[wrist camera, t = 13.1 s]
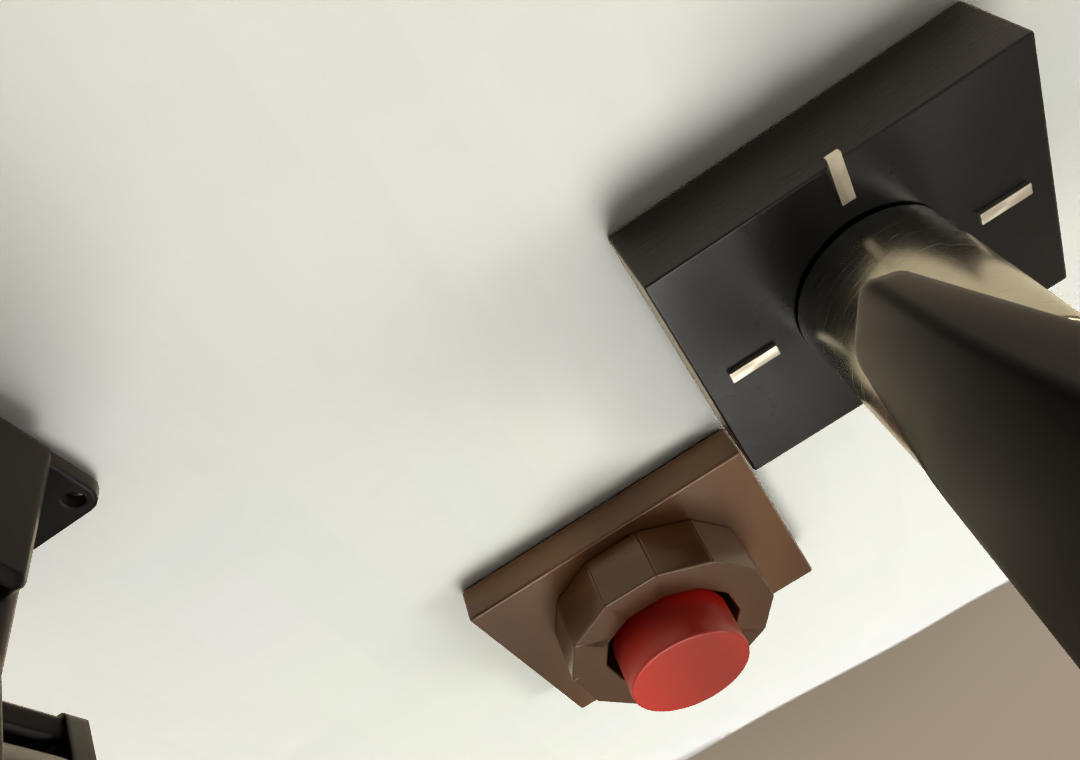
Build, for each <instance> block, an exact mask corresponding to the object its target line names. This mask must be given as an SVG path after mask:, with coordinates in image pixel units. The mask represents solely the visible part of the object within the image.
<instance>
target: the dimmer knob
mask: <svg viewBox="0 0 1080 760" xmlns="http://www.w3.org/2000/svg"><path fill="white" fill-rule="evenodd" d="M895 271H909V272H912V273H916V274H919V275H923V276H926V277H929V278H933V279H936V280H940V281H943V282H946V283H950V284H953V285H957V286H960V287H963V288H967V289H970V290H974V291H977V292H980V293H984V294H987V295H991V296H994V297H997V298H1001V299H1004V300H1008V301H1011V302H1014V303H1018V304H1021V305H1024V306H1028V307H1031V308H1035V309H1038V310H1041V311H1045V312H1048V313H1052V314H1055V315H1058V316H1062V317H1065V318H1069V319H1072V320H1075V321H1079V322H1080V313H1079V312H1078V311H1077V310H1075V309H1074V308H1072V307H1071V306H1070V305H1068V304H1067V303H1065V302H1064V301H1063V300H1061V299H1060V298H1058V297H1057V296H1056V295H1054V294H1053V293H1051V292H1050V291H1049V290H1047V289H1046V288H1044V287H1043V286H1042V285H1040V284H1039V283H1037V282H1036V281H1035V280H1033V279H1032V278H1031V277H1029V276H1028V275H1026V274H1025V273H1024V272H1022V271H1021V270H1019V269H1018V268H1017V267H1015V266H1014V265H1012V264H1011V263H1010V262H1008V261H1007V260H1005V259H1004V258H1003V257H1001V256H1000V255H998V254H997V253H996V252H994V251H993V250H991V249H990V248H989V247H987V246H986V245H984V244H983V243H982V242H980V241H979V240H978V239H976V238H975V237H973V236H972V235H971V234H969V233H968V232H966V231H965V230H964V229H962V228H961V227H959V226H958V225H957V224H955V223H954V222H952V221H951V220H950V219H948V218H947V217H945V216H944V215H943V214H941V213H940V212H938V211H936V210H935V209H932V208H929V207H926V206H920V205H900V206H894V207H890V208H886V209H883V210H880V211H877V212H875V213H873V214H871V215H869V216H867V217H865V218H863V219H861V220H859V221H858V222H856V223H855V224H853V225H852V226H850V227H849V228H848V229H846V230H845V231H844V232H842V233H841V234H840V235H839V236H838V237H837V238H836V239H835V240H833V241H832V242H831V244H830V245H829V246H828V247H827V248H826V249H825V250H824V251H823V253H822V254H821V255H820V256H819V258H818V259H817V260H816V262H815V263H814V265H813V267H812V268H811V270H810V272H809V274H808V276H807V278H806V280H805V282H804V285H803V287H802V290H801V294H800V298H799V304H798V321H799V325H800V329H801V332H802V334H803V336H804V338H805V339H806V341H807V342H808V343H809V345H810V346H811V347H812V348H813V349H814V350H815V351H816V352H817V353H818V354H819V355H820V357H821V358H822V359H823V360H824V361H825V362H826V363H827V364H828V365H829V366H830V367H831V369H832V370H833V371H834V372H835V373H836V374H837V375H838V376H839V377H840V378H841V379H842V381H843V382H844V383H845V384H846V385H847V386H848V387H849V388H850V389H851V390H852V391H853V393H854V394H855V395H856V396H857V397H858V398H859V399H860V400H861V401H862V402H863V403H864V405H865V406H866V407H867V408H868V409H869V410H870V411H871V412H872V413H873V414H874V415H875V417H876V418H877V419H878V420H879V421H880V422H881V423H882V424H883V425H884V426H885V427H886V429H887V430H888V431H889V432H890V433H891V434H892V435H893V436H894V437H895V438H896V439H897V441H898V442H899V443H900V444H901V445H902V446H903V447H904V448H905V449H906V450H907V451H908V453H909V454H910V455H911V456H912V457H913V458H914V459H915V460H916V461H917V462H918V463H919V465H920V466H921V464H920V462H919V461H918V459H917V458H916V456H915V454H914V453H913V451H912V450H911V448H910V446H909V445H908V443H907V442H906V440H905V438H904V437H903V435H902V434H901V432H900V430H899V429H898V427H897V426H896V424H895V422H894V421H893V419H892V418H891V416H890V414H889V413H888V411H887V409H886V408H885V406H884V405H883V403H882V401H881V400H880V398H879V397H878V395H877V393H876V392H875V390H874V389H873V387H872V385H871V384H870V382H869V381H868V379H867V377H866V376H865V374H864V373H863V371H862V369H861V367H860V365H859V363H858V361H857V357H856V354H855V332H856V320H857V308H858V297H859V291H860V289H861V287H862V285H863V284H864V283H865V282H867V281H868V280H871V279H874V278H877V277H880V276H883V275H886V274H889V273H892V272H895ZM921 467H922V466H921ZM922 468H923V467H922Z"/></svg>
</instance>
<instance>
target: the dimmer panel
mask: <svg viewBox="0 0 1080 760" xmlns="http://www.w3.org/2000/svg"><path fill="white" fill-rule="evenodd" d="M900 205H920V206H926V207H929V208H932V209H935V210H936V211H938V212H940V213H941V214H943V215H944V216H945V217H947V218H948V219H950V220H951V221H952V222H954V223H955V224H957V225H958V226H959V227H961V228H962V229H964V230H965V231H966V232H968V233H969V234H971V235H972V236H973V237H975V238H976V239H978V240H979V241H980V242H982V243H983V244H984V245H986V246H987V247H989V248H990V249H991V250H993V251H994V252H996V253H997V254H998V255H1000V256H1001V257H1003V258H1004V259H1005V260H1007V261H1008V262H1010V263H1011V264H1012V265H1014V266H1015V267H1017V268H1018V269H1019V270H1021V271H1022V272H1024V273H1025V274H1026V275H1028V276H1029V277H1031V278H1032V279H1033V280H1035V281H1036V282H1037V283H1039V284H1040V285H1042V286H1043V287H1044V288H1046V289H1049V288H1050V287H1052V286H1054V285H1055V284H1057V283H1058V282H1060V281H1062V280H1063V279H1065V278H1066V269H1065V262H1064V255H1063V247H1062V240H1061V232H1060V225H1059V217H1058V210H1057V202H1056V195H1055V187H1054V180H1053V172H1052V165H1051V157H1050V150H1049V143H1048V135H1047V128H1046V120H1045V113H1044V105H1043V98H1042V90H1041V83H1040V75H1039V68H1038V60H1037V53H1036V45H1035V38H1034V33H1033V31H1032V30H1029V29H1027V28H1024V27H1022V26H1020V25H1017V24H1015V23H1012V22H1010V21H1008V20H1005V19H1003V18H1000V17H998V16H996V15H993V14H991V13H988V12H986V11H984V10H981V9H979V8H976V7H974V6H972V5H969V4H967V3H964V2H962V1H960V2H958V3H956V4H955V5H953V6H952V7H950V8H949V9H947V10H946V11H944V12H943V13H941V14H940V15H938V16H937V17H935V18H934V19H932V20H931V21H929V22H928V23H926V24H925V25H923V26H922V27H920V28H919V29H917V30H916V31H914V32H913V33H911V34H910V35H908V36H907V37H905V38H904V39H903V40H901V41H900V42H898V43H897V44H895V45H894V46H892V47H891V48H889V49H888V50H886V51H885V52H883V53H882V54H880V55H879V56H877V57H876V58H874V59H873V60H871V61H870V62H868V63H867V64H865V65H864V66H862V67H861V68H859V69H858V70H856V71H855V72H853V73H852V74H850V75H849V76H847V77H846V78H844V79H843V80H841V81H840V82H838V83H837V84H835V85H834V86H833V87H831V88H830V89H828V90H827V91H825V92H824V93H822V94H821V95H819V96H818V97H816V98H815V99H813V100H812V101H810V102H809V103H807V104H806V105H804V106H803V107H801V108H800V109H798V110H797V111H795V112H794V113H792V114H791V115H789V116H788V117H786V118H785V119H783V120H782V121H780V122H779V123H777V124H776V125H774V126H773V127H771V128H770V129H768V130H767V131H765V132H764V133H763V134H761V135H760V136H758V137H757V138H755V139H754V140H752V141H751V142H749V143H748V144H746V145H745V146H743V147H742V148H740V149H739V150H737V151H736V152H734V153H733V154H731V155H730V156H728V157H727V158H725V159H724V160H722V161H721V162H719V163H718V164H716V165H715V166H713V167H712V168H710V169H709V170H707V171H706V172H704V173H703V174H701V175H700V176H698V177H697V178H695V179H694V180H693V181H691V182H690V183H688V184H687V185H685V186H684V187H682V188H681V189H679V190H678V191H676V192H675V193H673V194H672V195H670V196H669V197H667V198H666V199H664V200H663V201H661V202H660V203H658V204H657V205H655V206H654V207H652V208H651V209H649V210H648V211H646V212H645V213H643V214H642V215H640V216H639V217H637V218H636V219H634V220H633V221H631V222H630V223H628V224H627V225H626V226H624V227H623V228H621V229H620V230H618V231H617V232H615V233H614V234H612V235H611V236H609V237H608V241H609V242H610V244H611V245H612V247H613V249H614V250H615V252H616V254H617V255H618V257H619V258H620V260H621V262H622V263H623V265H624V267H625V268H626V270H627V271H628V273H629V275H630V276H631V278H632V280H633V281H634V283H635V284H636V286H637V288H638V289H639V291H640V292H641V294H642V296H643V297H644V299H645V301H646V302H647V304H648V305H649V307H650V309H651V310H652V312H653V314H654V315H655V317H656V318H657V320H658V322H659V323H660V325H661V327H662V328H663V330H664V331H665V333H666V335H667V336H668V338H669V340H670V341H671V343H672V344H673V346H674V348H675V349H676V351H677V353H678V354H679V356H680V357H681V359H682V361H683V362H684V364H685V366H686V367H687V369H688V370H689V372H690V374H691V375H692V377H693V379H694V380H695V382H696V383H697V385H698V387H699V388H700V390H701V392H702V393H703V395H704V396H705V398H706V400H707V401H708V403H709V405H710V406H711V408H712V409H713V411H714V413H715V414H716V416H717V418H718V419H719V420H720V422H721V423H722V425H723V426H724V428H725V429H726V430H727V432H728V433H729V435H730V436H731V438H732V439H733V440H734V442H735V443H736V445H737V446H738V448H739V449H740V451H741V452H742V453H743V455H744V456H745V458H746V459H747V461H748V462H749V463H750V465H751V466H752V468H753V469H754V470H757V469H759V468H760V467H762V466H764V465H765V464H767V463H768V462H770V461H772V460H773V459H775V458H776V457H778V456H780V455H781V454H783V453H784V452H786V451H788V450H789V449H791V448H793V447H794V446H796V445H797V444H799V443H801V442H802V441H804V440H805V439H807V438H809V437H810V436H812V435H813V434H815V433H817V432H818V431H820V430H822V429H823V428H825V427H826V426H828V425H830V424H831V423H833V422H834V421H836V420H838V419H839V418H841V417H842V416H844V415H846V414H847V413H849V412H851V411H852V410H854V409H855V408H857V407H859V406H860V405H862V404H863V402H862V401H861V400H860V399H859V398H858V397H857V396H856V395H855V394H854V393H853V391H852V390H851V389H850V388H849V387H848V386H847V385H846V384H845V383H844V382H843V381H842V379H841V378H840V377H839V376H838V375H837V374H836V373H835V372H834V371H833V370H832V369H831V367H830V366H829V365H828V364H827V363H826V362H825V361H824V360H823V359H822V358H821V357H820V355H819V354H818V353H817V352H816V351H815V350H814V349H813V348H812V347H811V346H810V345H809V343H808V342H807V341H806V339H805V338H804V336H803V334H802V332H801V329H800V325H799V321H798V304H799V298H800V294H801V290H802V287H803V285H804V282H805V280H806V278H807V276H808V274H809V272H810V270H811V268H812V267H813V265H814V263H815V262H816V260H817V259H818V258H819V256H820V255H821V254H822V253H823V251H824V250H825V249H826V248H827V247H828V246H829V245H830V244H831V242H832V241H833V240H835V239H836V238H837V237H838V236H839V235H840V234H841V233H842V232H844V231H845V230H846V229H848V228H849V227H850V226H852V225H853V224H855V223H856V222H858V221H859V220H861V219H863V218H865V217H867V216H869V215H871V214H873V213H875V212H877V211H880V210H883V209H886V208H890V207H894V206H900Z"/></svg>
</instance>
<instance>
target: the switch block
mask: <svg viewBox="0 0 1080 760" xmlns="http://www.w3.org/2000/svg"><path fill="white" fill-rule="evenodd" d="M811 570H812V569H811V566H810V565H809V563H808V561H807V560H806V558H805V556H804V555H803V553H802V552H801V550H800V548H799V547H798V545H797V543H796V542H795V540H794V539H793V537H792V535H791V534H790V532H789V530H788V529H787V527H786V525H785V524H784V522H783V521H782V519H781V517H780V516H779V514H778V512H777V511H776V509H775V508H774V506H773V504H772V503H771V501H770V499H769V498H768V496H767V495H766V493H765V491H764V490H763V488H762V486H761V485H760V483H759V481H758V480H757V478H756V477H755V475H754V473H753V472H752V470H751V468H750V467H749V465H748V464H747V462H746V460H745V459H744V457H743V455H742V454H741V452H740V451H739V449H738V448H737V446H736V445H735V443H734V442H733V441H732V439H731V438H730V436H729V435H728V433H727V432H726V430H724V429H721V430H719V431H717V432H716V433H714V434H713V435H711V436H710V437H708V438H706V439H705V440H703V441H702V442H700V443H698V444H697V445H695V446H694V447H692V448H690V449H689V450H687V451H686V452H684V453H683V454H681V455H679V456H678V457H676V458H675V459H673V460H671V461H670V462H668V463H667V464H665V465H664V466H662V467H660V468H659V469H657V470H656V471H654V472H652V473H651V474H649V475H648V476H646V477H644V478H643V479H641V480H640V481H638V482H637V483H635V484H633V485H632V486H630V487H629V488H627V489H625V490H624V491H622V492H621V493H619V494H618V495H616V496H614V497H613V498H611V499H610V500H608V501H606V502H605V503H603V504H602V505H600V506H598V507H597V508H595V509H594V510H592V511H591V512H589V513H587V514H586V515H584V516H583V517H581V518H579V519H578V520H576V521H575V522H573V523H571V524H570V525H568V526H567V527H565V528H564V529H562V530H560V531H559V532H557V533H556V534H554V535H552V536H551V537H549V538H548V539H546V540H545V541H543V542H541V543H540V544H538V545H537V546H535V547H533V548H532V549H530V550H529V551H527V552H525V553H524V554H522V555H521V556H519V557H518V558H516V559H514V560H513V561H511V562H510V563H508V564H506V565H505V566H503V567H502V568H500V569H499V570H497V571H495V572H494V573H492V574H491V575H489V576H487V577H486V578H484V579H483V580H481V581H479V582H478V583H476V584H475V585H473V586H472V587H470V588H468V589H467V590H465V591H464V592H463V597H464V600H465V604H466V607H467V611H468V615H469V618H470V620H471V621H472V622H473V623H474V624H475V625H477V626H478V627H479V628H481V629H482V630H483V631H484V632H486V633H487V634H488V635H489V636H491V637H492V638H493V639H495V640H496V641H497V642H498V643H500V644H501V645H502V646H504V647H505V648H506V649H507V650H509V651H510V652H511V653H513V654H514V655H515V656H516V657H518V658H519V659H520V660H521V661H523V662H524V663H525V664H527V665H528V666H529V667H530V668H532V669H533V670H534V671H536V672H537V673H538V674H539V675H541V676H542V677H543V678H544V679H546V680H547V681H548V682H550V683H551V684H552V685H553V686H555V687H556V688H557V689H559V690H560V691H561V692H562V693H564V694H565V695H566V696H568V697H569V698H570V699H571V700H573V701H574V702H575V703H576V704H578V705H579V706H580V707H582V708H583V707H585V706H587V705H588V704H590V703H592V702H593V701H595V700H598V701H609V702H623V703H636V702H635V701H634V700H633V698H632V696H631V693H630V691H629V689H628V686H627V684H626V681H625V679H624V677H623V674H622V672H621V670H620V667H619V665H618V662H617V660H616V658H615V655H614V652H613V641H614V637H615V634H616V633H617V632H618V631H619V629H620V628H621V627H622V626H623V624H624V623H625V622H626V621H627V619H628V618H629V617H631V616H633V615H634V614H636V613H638V612H639V611H641V610H643V609H644V608H646V607H647V606H649V605H651V604H652V603H654V602H656V601H657V600H659V599H661V598H662V597H664V596H668V595H672V594H676V593H680V592H684V591H688V590H692V589H696V588H701V589H707V590H711V591H714V592H715V593H717V594H718V595H720V596H721V597H722V598H723V599H724V601H725V603H726V604H727V606H728V608H729V610H730V611H731V613H732V615H733V617H734V618H735V620H736V622H737V624H738V626H739V627H740V629H741V631H742V633H743V634H744V636H745V638H746V640H747V641H748V644H749V646H750V644H751V643H752V642H753V641H754V640H755V639H756V638H757V637H758V636H759V634H760V633H761V632H762V631H763V630H764V628H765V627H766V623H767V619H768V615H769V611H770V608H771V604H772V600H773V593H775V592H777V591H778V590H780V589H782V588H783V587H785V586H787V585H788V584H790V583H792V582H793V581H795V580H797V579H798V578H800V577H802V576H803V575H805V574H807V573H808V572H810V571H811Z"/></svg>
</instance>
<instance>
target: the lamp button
mask: <svg viewBox="0 0 1080 760" xmlns="http://www.w3.org/2000/svg"><path fill="white" fill-rule="evenodd" d="M613 652H614V655H615V658H616V660H617V662H618V665H619V667H620V670H621V672H622V674H623V677H624V679H625V681H626V684H627V686H628V689H629V691H630V693H631V696H632V698H633V700H634V701H635V702H636V703H637V704H638V705H639V706H641V707H643V708H645V709H648V710H651V711H673V710H678V709H682V708H686V707H689V706H692V705H695V704H698V703H700V702H702V701H704V700H706V699H708V698H710V697H712V696H714V695H715V694H717V693H718V692H720V691H721V690H723V689H724V688H726V687H727V686H728V685H729V684H730V683H732V682H733V681H734V680H735V679H736V678H737V676H738V675H739V674H740V673H741V672H742V670H743V669H744V667H745V665H746V663H747V661H748V658H749V653H750V652H749V644H748V641H747V640H746V638H745V636H744V634H743V633H742V631H741V629H740V627H739V626H738V624H737V622H736V620H735V618H734V617H733V615H732V613H731V611H730V610H729V608H728V606H727V604H726V603H725V601H724V599H723V598H722V597H721V596H720V595H718V594H717V593H715V592H714V591H711V590H707V589H701V588H696V589H692V590H688V591H684V592H680V593H676V594H672V595H668V596H664V597H662V598H661V599H659V600H657V601H656V602H654V603H652V604H651V605H649V606H647V607H646V608H644V609H643V610H641V611H639V612H638V613H636V614H634V615H633V616H631V617H629V618H628V619H627V621H626V622H625V623H624V624H623V626H622V627H621V628H620V629H619V631H618V632H617V633H616V634H615V637H614V641H613Z"/></svg>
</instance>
